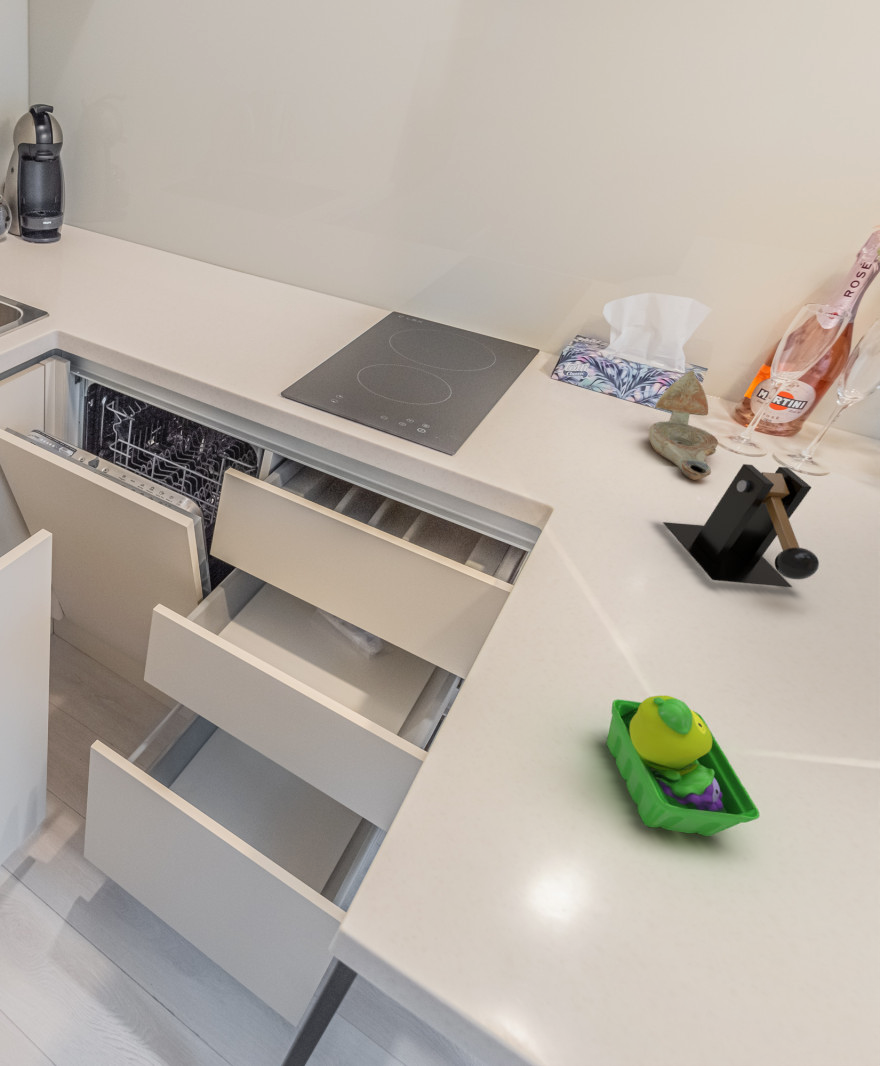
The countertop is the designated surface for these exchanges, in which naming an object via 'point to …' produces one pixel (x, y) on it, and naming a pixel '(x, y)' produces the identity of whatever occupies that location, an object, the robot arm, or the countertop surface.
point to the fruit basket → (676, 768)
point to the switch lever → (787, 535)
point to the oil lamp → (684, 428)
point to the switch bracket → (741, 529)
